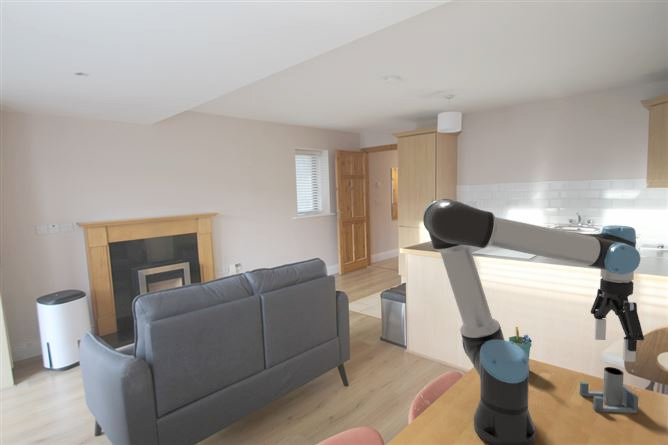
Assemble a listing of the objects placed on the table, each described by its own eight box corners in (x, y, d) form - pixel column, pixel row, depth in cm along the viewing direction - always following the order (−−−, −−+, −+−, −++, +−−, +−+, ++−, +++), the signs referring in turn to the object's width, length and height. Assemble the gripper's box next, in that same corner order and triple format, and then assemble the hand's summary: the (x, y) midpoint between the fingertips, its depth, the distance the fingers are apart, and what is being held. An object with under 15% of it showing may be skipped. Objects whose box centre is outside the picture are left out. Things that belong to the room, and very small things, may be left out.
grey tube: (614, 409, 103) (615, 375, 102) (599, 400, 108) (600, 368, 106) (626, 406, 104) (627, 373, 103) (610, 397, 109) (612, 365, 108)
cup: (542, 380, 119) (542, 338, 118) (518, 380, 120) (518, 338, 118) (522, 360, 133) (523, 321, 132) (501, 360, 134) (501, 322, 132)
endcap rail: (595, 411, 103) (595, 395, 102) (579, 394, 111) (579, 378, 111) (637, 413, 101) (638, 396, 101) (618, 395, 109) (618, 380, 109)
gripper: (664, 292, 89) (659, 372, 91) (604, 268, 114) (602, 332, 116) (631, 292, 90) (627, 370, 93) (579, 268, 115) (577, 331, 117)
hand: (613, 349), depth 104 cm, fingers open, 13 cm apart
